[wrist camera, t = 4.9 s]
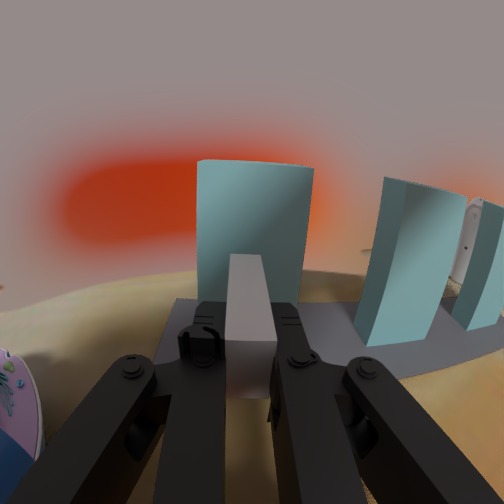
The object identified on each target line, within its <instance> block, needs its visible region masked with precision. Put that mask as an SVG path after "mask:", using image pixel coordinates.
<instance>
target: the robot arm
mask: <svg viewBox="0 0 504 504" xmlns="http://www.w3.org/2000/svg"><path fill="white" fill-rule="evenodd" d="M177 338H178V345H179V353H180V358H179V359H177V360H175V361H173V362H169V363H164V364H156V365H153V363H152V362H151V361H150V359H148V358H146V357H144V356H142V355H136V354H133V355H126V356H124V357H121V358H119V359H118V360H117V361H115V362H114V363H113V364H112V366H111V367H110V368H109V369H108V370H107V372H106V373H105V374H104V375H103V376H102V378H101V379H100V380H99V381H98V382H97V384H96V385H95V386H94V387H93V388H92V390H91V391H90V392H89V393H88V395H87V396H86V397H85V398H84V399H83V401H82V402H81V403H80V404H79V406H78V407H77V408H76V409H75V411H74V412H73V413H72V414H71V416H70V417H69V418H68V419H67V421H66V422H65V423H64V424H63V426H62V427H61V428H60V430H59V431H58V432H57V433H56V435H55V436H54V437H53V439H52V440H51V441H50V443H49V444H48V445H47V446H46V448H45V449H44V450H43V452H42V453H41V454H40V456H39V457H38V458H37V460H36V461H35V462H34V464H33V465H32V467H31V468H30V469H29V471H28V472H27V473H26V475H25V476H24V478H23V479H22V480H21V482H20V483H19V485H18V486H17V487H16V489H15V490H14V492H13V493H12V495H11V496H10V497H9V499H8V500H7V502H6V503H5V504H126V502H127V500H128V498H129V496H130V495H131V493H132V491H133V489H134V487H135V485H136V483H137V481H138V479H139V478H140V476H141V474H142V472H143V470H144V468H145V466H146V464H147V462H148V460H149V458H150V457H151V455H152V453H153V451H154V449H155V447H156V445H157V443H158V441H159V439H160V437H161V436H162V434H163V432H164V430H165V432H164V437H163V443H162V448H161V454H160V460H159V466H158V472H157V478H156V484H155V491H154V498H153V504H225V425H226V398H268V397H269V391H270V398H271V403H270V408H269V414H268V419H267V422H271V430H272V439H273V448H274V457H275V466H276V475H277V483H278V492H279V501H280V504H368V502H367V499H366V495H365V492H364V488H363V485H362V482H361V478H362V480H363V482H364V483H365V485H366V486H367V488H368V489H369V491H370V492H371V494H372V495H373V497H374V499H375V500H376V502H377V503H378V504H504V502H503V501H502V499H501V498H500V497H499V496H498V494H497V493H496V492H495V491H494V490H493V488H492V487H491V486H490V485H489V484H488V482H487V481H486V480H485V479H484V478H483V476H482V475H481V474H480V473H479V472H478V470H477V469H476V468H475V467H474V466H473V465H472V463H471V462H470V461H469V460H468V459H467V458H466V456H465V455H464V454H463V453H462V452H461V451H460V449H459V448H458V447H457V446H456V445H455V444H454V443H453V441H452V440H451V439H450V438H449V437H448V436H447V435H446V433H445V432H444V431H443V430H442V429H441V428H440V427H439V425H438V424H437V423H436V422H435V421H434V420H433V419H432V418H431V416H430V415H429V414H428V413H427V412H426V411H425V410H424V409H423V408H422V406H421V405H420V404H419V403H418V402H417V401H416V400H415V399H414V398H413V396H412V395H411V394H410V393H409V392H408V391H407V390H406V389H405V388H404V387H403V385H402V384H401V383H400V382H399V381H398V380H397V379H396V378H395V377H394V376H393V375H392V373H391V372H390V371H389V370H388V369H387V368H386V367H385V366H384V365H383V364H382V363H381V362H379V361H378V360H376V359H374V358H371V357H366V356H361V357H356V358H354V359H352V360H350V362H349V363H348V365H347V366H341V365H335V364H330V363H326V362H324V361H322V360H321V358H320V356H319V355H318V353H316V352H315V351H313V350H312V349H310V346H309V343H308V340H307V337H306V334H305V331H304V328H303V325H302V322H301V319H300V316H299V313H298V310H297V309H296V308H295V307H294V306H293V305H292V304H291V303H290V302H270V300H269V295H268V290H267V285H266V279H265V274H264V269H263V264H262V259H261V255H252V254H230V264H229V278H228V292H227V302H216V301H202V302H201V303H200V304H199V305H198V306H197V307H196V311H195V315H194V319H193V324H192V325H191V326H187V327H186V328H184V329H183V330H181V331H180V333H179V334H178V336H177ZM360 477H361V478H360Z"/></svg>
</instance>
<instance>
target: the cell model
mask: <svg viewBox="0 0 504 504" xmlns="http://www.w3.org/2000/svg"><path fill="white" fill-rule="evenodd" d="M44 449H45V430H44V422H43V414H42V407H41V402H40V397H39V393H38V389H37V386H36V383H35V380H34V378H33V376H32V374H31V372H30V370H29V368H28V366H27V365H26V363H25V361H24V360H23V359H22V358H21V357H20V356H19V355H17V354H15V355H13V356H12V357H10V355H9V352H8V350H6V349H3V348H0V504H5V503H6V502H7V500H8V499H9V497H10V496H11V495H12V493H13V492H14V490H15V489H16V487H17V486H18V485H19V483H20V482H21V480H22V479H23V478H24V476H25V475H26V473H27V472H28V471H29V469H30V468H31V467H32V465H33V464H34V462H35V461H36V460H37V458H38V457H39V456H40V454H41V453H42V452H43V450H44Z"/></svg>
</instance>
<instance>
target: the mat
mask: <svg viewBox="0 0 504 504" xmlns="http://www.w3.org/2000/svg"><path fill="white" fill-rule="evenodd" d="M456 300H457V297H450V298H441V300H440V303H439V306H438V308H437V311H436V313H435V316H434V318H433V321H432V323H431V326H430V328H429V330H428V333H427V335H426V337H425V339H422V340H416V341H409V342H402V343H395V344H387V345H378V346H368V347H366V346H365V344H364V342H363V340H362V339H361V337H360V335H359V333H358V332H357V330H356V328H355V326H354V325H353V323H354V320H355V317H356V313H357V310H358V306H359V302H348V303H297V307H296V309H297V310H298V313H299V316H300V319H301V322H302V325H303V328H304V331H305V334H306V337H307V340H308V343H309V346H310V349H312V350H313V351H315V352H316V353H318V355H319V356H320V358H321V360H322V361H324V362H326V363H330V364H335V365H341V366H347V365H348V363H349V362H350V360H352V359H354V358H356V357H361V356H366V357H371V358H374V359H376V360H378V361H379V362H381V363H382V364H383V365H384V366H385V367H386V368H387V369H388V370H389V371H390V372H391V373H392V375H393V376H394V377H395V378H396V379H397V380H398V379H403V378H408V377H412V376H416V375H421V374H425V373H429V372H432V371H436V370H440V369H443V368H447V367H450V366H454V365H457V364H460V363H463V362H466V361H469V360H472V359H475V358H478V357H481V356H484V355H486V354H489V353H492V352H494V351H497V350H499V349H502V348H504V317H503V316H501V315H499V318H498V320H497V322H496V324H493V325H489V326H485V327H481V328H477V329H473V330H469V331H466V330H465V329H464V328H463V327H462V326H461V325H460V324H459V323H458V322H457V321H456V320H455V319H454V318H453V317H452V316H451V313H452V310H453V308H454V305H455V303H456ZM198 305H199V304H198V300H195V299H179V298H176V301H175V303H174V306H173V308H172V311H171V314H170V316H169V319H168V322H167V324H166V327H165V330H164V332H163V335H162V338H161V341H160V344H159V346H158V349H157V352H156V355H155V358H154V361H153V365H156V364H164V363H169V362H173V361H175V360H177V359H179V358H180V353H179V345H178V338H177V336H178V334H179V333H180V331H181V330H183V329H184V328H186V327H187V326H191V325H192V324H193V319H194V315H195V311H196V307H197V306H198ZM269 393H270V391H269Z"/></svg>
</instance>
